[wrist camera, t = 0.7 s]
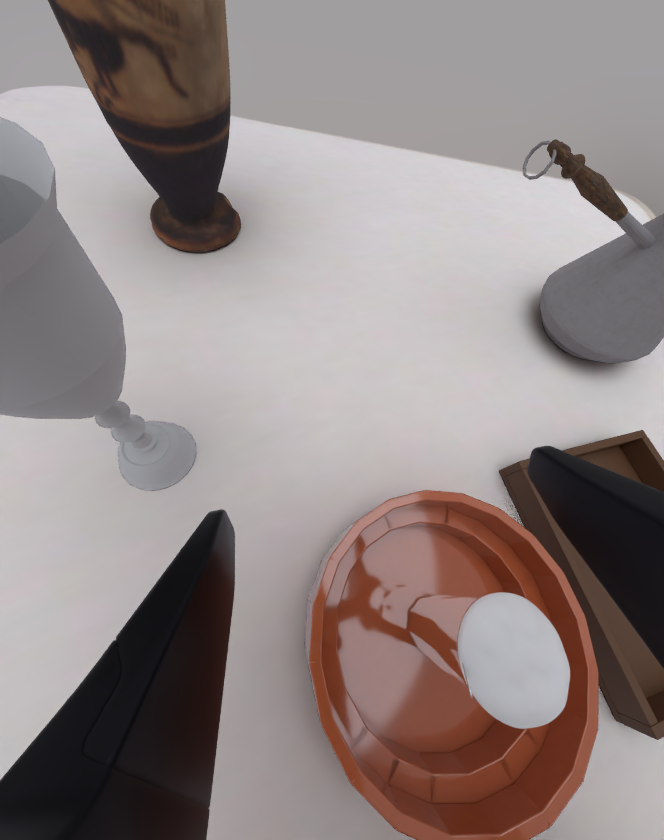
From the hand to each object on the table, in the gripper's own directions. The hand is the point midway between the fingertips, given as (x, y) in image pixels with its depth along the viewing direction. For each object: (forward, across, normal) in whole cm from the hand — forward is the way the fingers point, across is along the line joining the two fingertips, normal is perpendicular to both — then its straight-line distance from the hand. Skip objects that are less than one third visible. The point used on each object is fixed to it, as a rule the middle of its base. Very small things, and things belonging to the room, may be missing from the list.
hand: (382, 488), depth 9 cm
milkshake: (+3, -3, +16) cm, 16 cm away
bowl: (+3, -3, +16) cm, 17 cm away
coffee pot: (+23, -22, +7) cm, 33 cm away
